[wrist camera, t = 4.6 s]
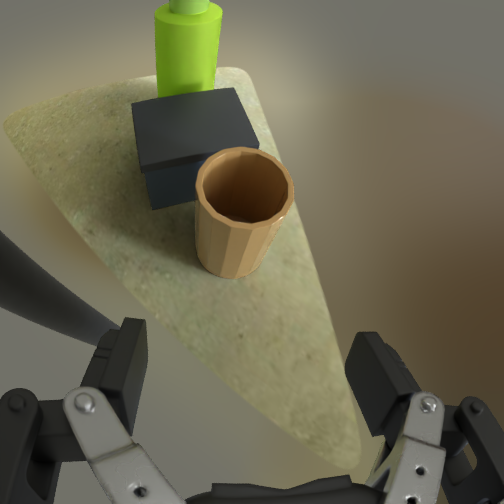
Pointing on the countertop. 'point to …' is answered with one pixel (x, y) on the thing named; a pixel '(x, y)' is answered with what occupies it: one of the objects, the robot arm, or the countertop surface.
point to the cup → (239, 209)
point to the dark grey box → (186, 139)
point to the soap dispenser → (186, 46)
